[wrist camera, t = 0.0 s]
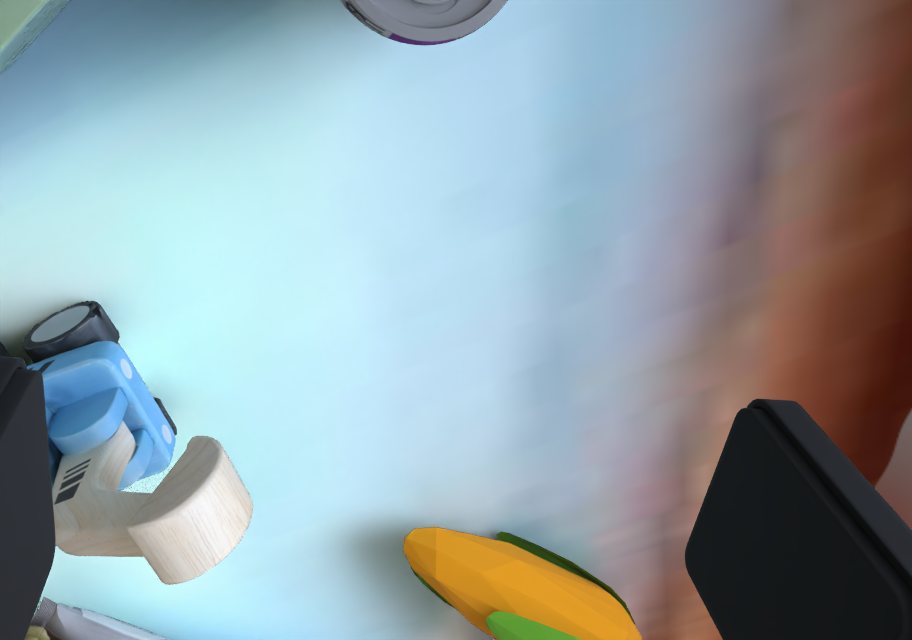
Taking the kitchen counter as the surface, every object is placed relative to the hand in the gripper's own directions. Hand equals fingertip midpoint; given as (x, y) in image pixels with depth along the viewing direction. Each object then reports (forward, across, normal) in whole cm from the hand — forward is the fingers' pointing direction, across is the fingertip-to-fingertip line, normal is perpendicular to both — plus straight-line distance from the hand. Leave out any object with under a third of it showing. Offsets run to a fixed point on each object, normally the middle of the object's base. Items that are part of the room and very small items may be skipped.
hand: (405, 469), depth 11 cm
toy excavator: (+31, +10, +18) cm, 38 cm away
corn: (+31, -14, +32) cm, 47 cm away
